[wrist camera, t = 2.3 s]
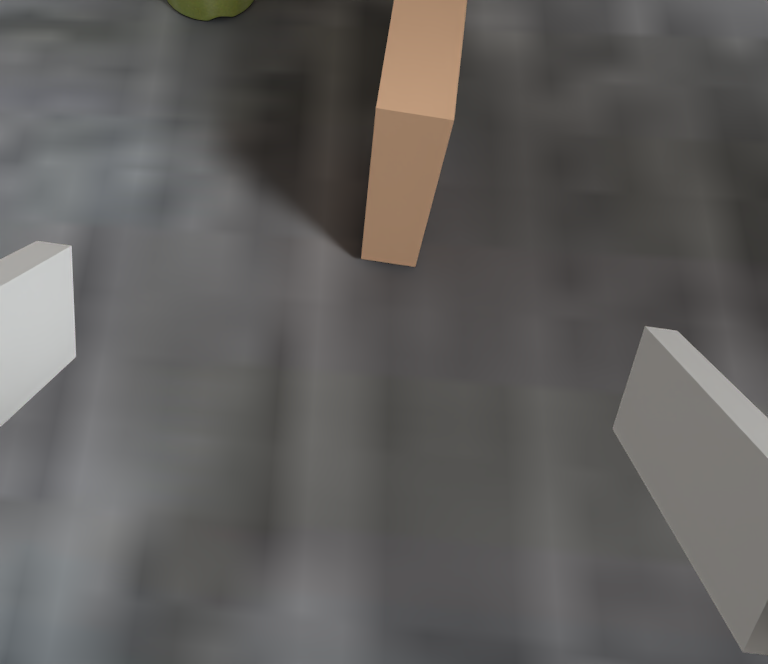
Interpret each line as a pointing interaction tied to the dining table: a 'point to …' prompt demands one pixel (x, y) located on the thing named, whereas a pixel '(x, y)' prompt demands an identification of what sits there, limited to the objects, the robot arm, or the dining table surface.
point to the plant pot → (210, 8)
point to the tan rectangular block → (412, 125)
